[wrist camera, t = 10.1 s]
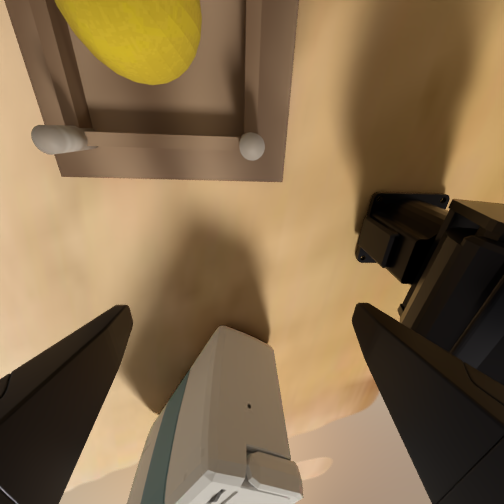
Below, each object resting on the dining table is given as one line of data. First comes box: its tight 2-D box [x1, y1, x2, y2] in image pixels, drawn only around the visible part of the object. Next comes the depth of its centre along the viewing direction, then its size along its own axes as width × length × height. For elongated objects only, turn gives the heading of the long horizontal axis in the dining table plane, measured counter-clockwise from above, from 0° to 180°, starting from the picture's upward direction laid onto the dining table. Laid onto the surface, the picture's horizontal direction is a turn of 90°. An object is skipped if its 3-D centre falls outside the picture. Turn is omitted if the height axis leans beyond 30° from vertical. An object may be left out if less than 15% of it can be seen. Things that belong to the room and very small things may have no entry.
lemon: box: [55, 0, 202, 85], centre depth 10 cm, size 6×6×8 cm
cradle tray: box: [4, 0, 299, 182], centre depth 12 cm, size 16×16×5 cm
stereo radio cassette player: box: [127, 326, 303, 504], centre depth 21 cm, size 21×8×20 cm, turn 150°
